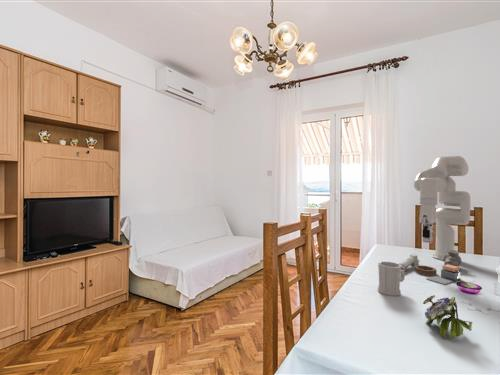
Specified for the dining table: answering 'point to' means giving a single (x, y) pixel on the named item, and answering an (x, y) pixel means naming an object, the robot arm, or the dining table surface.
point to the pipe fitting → (452, 258)
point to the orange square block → (450, 268)
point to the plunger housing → (449, 275)
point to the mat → (440, 280)
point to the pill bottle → (430, 240)
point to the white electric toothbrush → (409, 262)
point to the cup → (390, 278)
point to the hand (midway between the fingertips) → (427, 236)
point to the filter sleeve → (425, 270)
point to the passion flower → (446, 308)
